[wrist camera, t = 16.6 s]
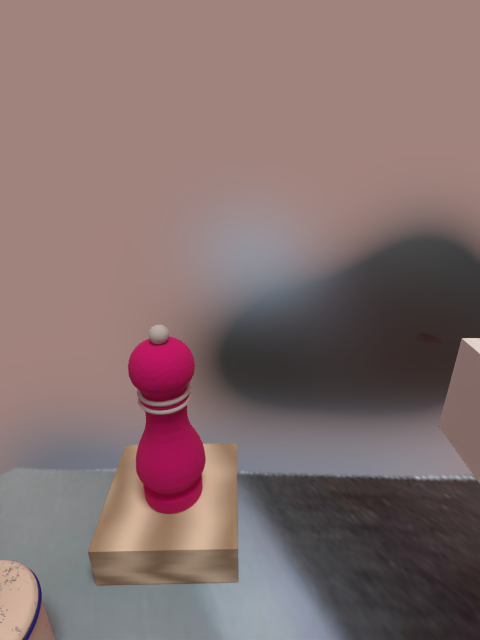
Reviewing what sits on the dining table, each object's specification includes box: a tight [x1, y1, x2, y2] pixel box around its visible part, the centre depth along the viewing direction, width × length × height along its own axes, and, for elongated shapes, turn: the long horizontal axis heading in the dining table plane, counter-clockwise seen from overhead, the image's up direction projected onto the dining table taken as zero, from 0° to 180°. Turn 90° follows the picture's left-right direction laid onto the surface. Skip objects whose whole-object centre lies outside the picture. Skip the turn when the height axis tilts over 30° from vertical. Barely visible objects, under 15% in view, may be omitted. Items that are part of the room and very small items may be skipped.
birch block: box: [88, 443, 238, 585], centre depth 43 cm, size 14×14×5 cm
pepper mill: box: [128, 325, 206, 514], centre depth 38 cm, size 7×7×20 cm
